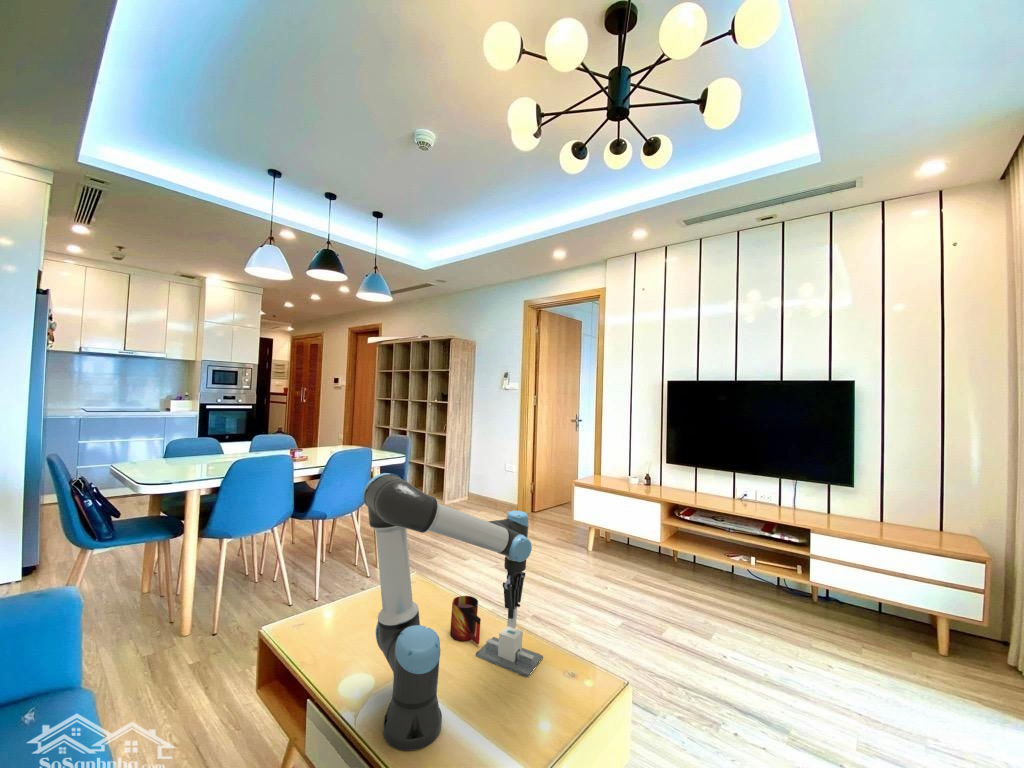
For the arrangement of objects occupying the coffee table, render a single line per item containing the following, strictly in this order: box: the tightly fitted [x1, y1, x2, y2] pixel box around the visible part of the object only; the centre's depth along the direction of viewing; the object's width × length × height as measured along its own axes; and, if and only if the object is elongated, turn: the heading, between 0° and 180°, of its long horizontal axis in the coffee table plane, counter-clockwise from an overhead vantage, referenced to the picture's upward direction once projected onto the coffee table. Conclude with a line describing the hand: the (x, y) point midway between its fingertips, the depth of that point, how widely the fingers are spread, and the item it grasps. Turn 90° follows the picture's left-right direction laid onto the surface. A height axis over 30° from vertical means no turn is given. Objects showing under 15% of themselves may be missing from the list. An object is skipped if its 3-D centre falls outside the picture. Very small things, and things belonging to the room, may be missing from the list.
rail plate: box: [475, 636, 544, 678], centre depth 141 cm, size 12×20×3 cm, turn 62°
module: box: [498, 626, 524, 662], centre depth 141 cm, size 6×6×8 cm
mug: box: [449, 595, 482, 645], centre depth 153 cm, size 10×14×12 cm
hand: (511, 626), depth 142 cm, fingers closed
